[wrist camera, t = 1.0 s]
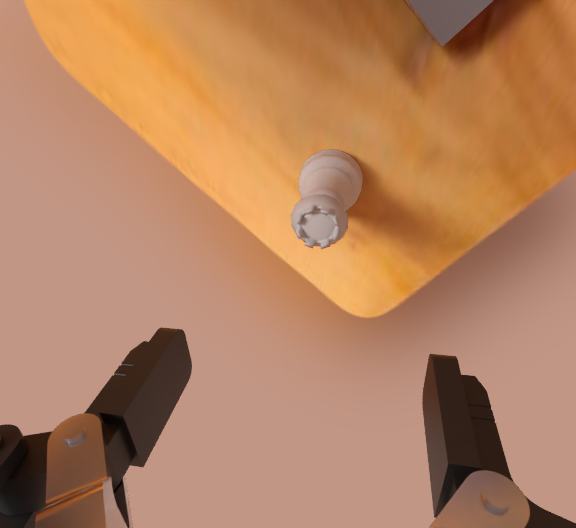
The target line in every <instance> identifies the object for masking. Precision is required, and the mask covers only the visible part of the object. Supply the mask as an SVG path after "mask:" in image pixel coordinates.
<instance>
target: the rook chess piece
mask: <svg viewBox="0 0 576 528" xmlns="http://www.w3.org/2000/svg"><path fill="white" fill-rule="evenodd" d="M362 184H363V175H362V172H361V169H360V167H359V164H358V163H357V162H356V161H355V160H354V159H353V158H352V157H351V156H350V155H348V154H346V153H344V152H341V151H339V150H323V151H321V152H318V153H316V154H313V155H312V156H311V157H310V158H309V159H308V160H307V161H306V162H305V163H304V165H303V168H302V170H301V173H300V177H299V192H300V194H301V196H302V199H301V200H300V201H299V202H298V203H297V204H296V205H295V207H294V209H293V212H292V214H291V225H292V227H293V229H294V231H295V233H296V235H297V237H298V239H301V240H303V241H304V242H306V243H305V245H306V246H308V247H310V248H313V246H321V249H323V248H326V247H330V245H331V244H335V243H336V242H337V241H339V240H340V239H341V238H342V237H343V236H344V234H345V232H346V230H347V228H348V216H347V213H346V211H347V210H348V209H349V208H350V207H351V206H352V205H354V204H355V203H356V201H357V199H358V197H359V195H360V193H361V189H362Z"/></svg>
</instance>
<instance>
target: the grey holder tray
mask: <svg viewBox="0 0 576 528" xmlns="http://www.w3.org/2000/svg"><path fill="white" fill-rule="evenodd" d="M405 1H406V3H407V4H408V5H409V7H410V8H411V9H412V11H413V12H414V13H415V15H416V16H417V17H418V19H419V20H420V21H421V23H422V24H423V25H424V27H425V28H426V29H427V31H428V32H429V34H430V35H431V36H432V38H433V39H434V40H435V42H436V43H437V44H439V45H441V46H442V47H443V46H444V45H445V44H446V43H447V42H448V41H449V40H450V39H452V38H453V37H454V36H455V35H456V34H457V33H458V32H459V31H460V30H462V29H463V28H464V27H465V26H466V25H467V24H468V23H469V22H470V21H471V20H473V19H474V18H475V17H476V16H477V15H478V14H479V13H480V12H481V11H482V10H484V9H485V8H486V7H487V6H488V5H489V4H490V3H491V2H492V1H493V0H405Z"/></svg>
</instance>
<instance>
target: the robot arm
mask: <svg viewBox="0 0 576 528" xmlns="http://www.w3.org/2000/svg"><path fill="white" fill-rule="evenodd" d="M191 370H192V364H191V358H190V353H189V349H188V345H187V341H186V337H185V333H184V331H183V330H181V329H170V328H159V329H158V330H157V331H156V333H155V334H154V336H153V337H152V338H151V340H150V341H149V342H145V341H144V342H142V343H141V344H140V345H138V346H137V347H136V348H134V349H133V350H131V351H130V353H129V354H128V355H127V357H126V358H125V360H124V361H123V362H122V365H121V366H119V367H118V369H117V370H116V371H115V373H114V376H112V377H111V378H110V380H109V381H108V382H107V384H106V385H105V386H104V388H103V389H102V390H101V392H100V393H99V394H98V396H97V397H96V398H95V400H94V401H93V403H92V404H91V405H90V407H89V408H88V409H87V411H86V412H85V413H83V414H78V415H75V416H72V417H70V418H68V419H66V420H65V421H63V422H62V423H60V424H59V425H58V426H57V427H56V428H55V429H54V430H53V431H52V432H46V433H40V434H33V435H27V436H23V435H22V433H21V431H20V430H19V428H18V427H16V426H14V425H0V528H133V524H132V517H131V510H130V504H129V497H128V491H127V484H126V478H125V476H124V475H125V473H126V471H127V469H128V468H129V466H130V465H132V466H139V467H144V465H145V463H146V461H147V459H148V457H149V455H150V453H151V451H152V450H153V447H154V446H155V444H156V442H157V440H158V438H159V436H160V434H161V432H162V430H163V429H164V426H165V425H166V423H167V421H168V419H169V417H170V415H171V413H172V411H173V409H174V408H175V406H176V404H177V402H178V400H179V398H180V396H181V394H182V392H183V390H184V388H185V387H186V384H187V383H188V381H189V378H190V375H191ZM423 415H424V425H425V434H426V443H427V453H428V462H429V471H430V481H431V490H432V499H433V509H434V517H435V518H436V519H435V520H434V522H433V523H432V524H431V526H430V527H429V528H576V523H573V522H571V521H569V520H567V519H564V518H562V517H560V516H558V515H555V514H553V513H551V512H549V511H546V510H544V509H542V508H541V507H539V506H537V505H536V504H534V503H533V502H531V501H530V500H529V499H528V498H527V497H526V496H525V495H524V494H523V492H522V491H521V490H520V489H519V487H518V486H517V485H516V484H515V483H514V482H513V480H512V478H511V475H510V473H509V469H508V466H507V462H506V458H505V455H504V452H503V448H502V444H501V441H500V437H499V433H498V430H497V426H496V423H495V419H494V416H493V412H492V410H491V405H490V401H489V398H488V394H487V391H486V390H485V388H484V387H483V386H482V384H481V383H480V382H479V381H478V380H477V378H476V377H475V376H469V375H461V373H460V368H459V364H458V360H457V357H456V356H446V355H436V354H430V355H429V359H428V365H427V371H426V376H425V383H424V388H423Z"/></svg>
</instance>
